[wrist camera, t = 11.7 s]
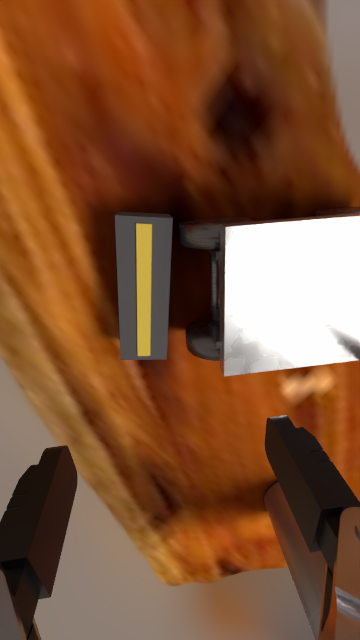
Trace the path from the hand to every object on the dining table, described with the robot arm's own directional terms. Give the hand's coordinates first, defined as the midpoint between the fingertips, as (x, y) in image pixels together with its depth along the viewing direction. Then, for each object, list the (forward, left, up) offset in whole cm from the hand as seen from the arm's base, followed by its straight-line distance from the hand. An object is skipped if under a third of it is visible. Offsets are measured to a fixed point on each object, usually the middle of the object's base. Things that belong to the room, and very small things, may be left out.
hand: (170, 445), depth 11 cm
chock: (+1, +1, -19) cm, 19 cm away
